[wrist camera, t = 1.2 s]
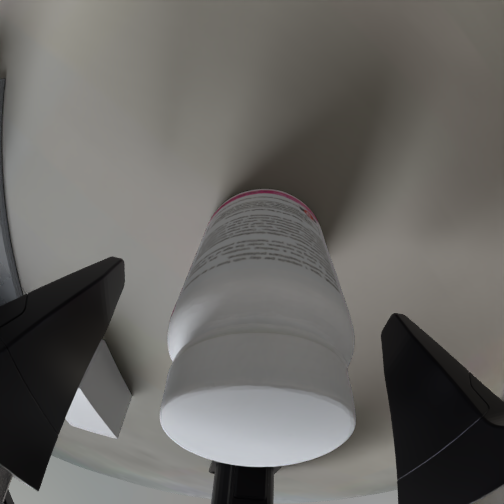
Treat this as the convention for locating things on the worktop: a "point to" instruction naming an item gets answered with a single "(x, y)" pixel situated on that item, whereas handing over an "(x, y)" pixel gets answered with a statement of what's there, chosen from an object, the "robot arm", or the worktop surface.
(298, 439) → the pill bottle
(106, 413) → the grey block
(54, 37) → the worktop surface
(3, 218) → the dark grey block rack
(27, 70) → the worktop surface
